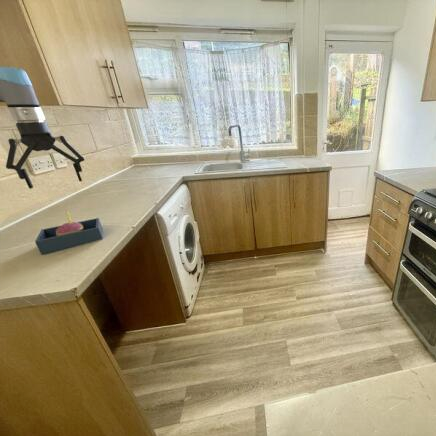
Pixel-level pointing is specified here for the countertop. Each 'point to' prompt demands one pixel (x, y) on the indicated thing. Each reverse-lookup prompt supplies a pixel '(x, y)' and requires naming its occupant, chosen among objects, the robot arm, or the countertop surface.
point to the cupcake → (69, 227)
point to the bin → (69, 237)
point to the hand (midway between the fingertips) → (57, 184)
